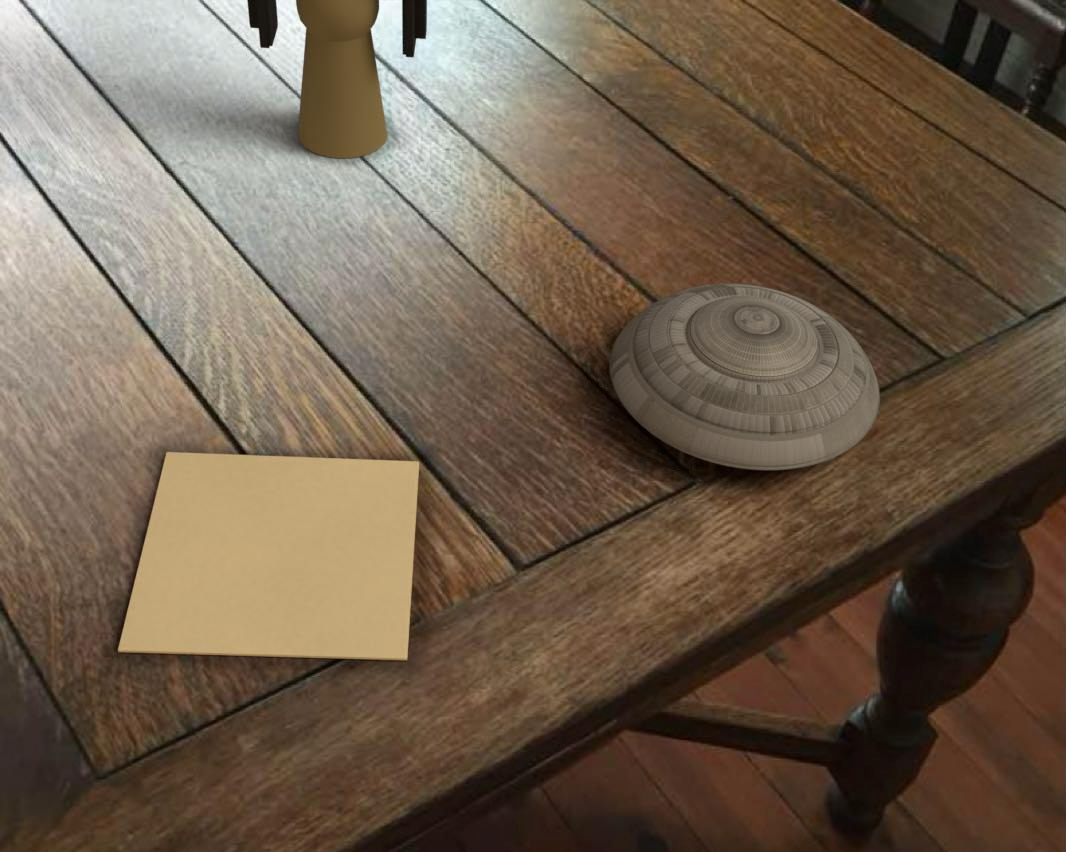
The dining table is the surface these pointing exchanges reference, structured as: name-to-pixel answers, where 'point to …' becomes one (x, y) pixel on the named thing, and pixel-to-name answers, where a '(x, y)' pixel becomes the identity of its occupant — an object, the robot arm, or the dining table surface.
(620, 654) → the dining table surface
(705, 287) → the flying saucer
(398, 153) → the dining table surface
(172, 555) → the felt square
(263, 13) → the robot arm
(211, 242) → the dining table surface
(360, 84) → the brown peg doll
